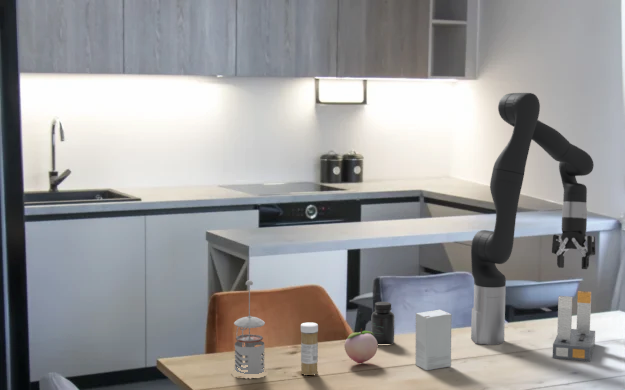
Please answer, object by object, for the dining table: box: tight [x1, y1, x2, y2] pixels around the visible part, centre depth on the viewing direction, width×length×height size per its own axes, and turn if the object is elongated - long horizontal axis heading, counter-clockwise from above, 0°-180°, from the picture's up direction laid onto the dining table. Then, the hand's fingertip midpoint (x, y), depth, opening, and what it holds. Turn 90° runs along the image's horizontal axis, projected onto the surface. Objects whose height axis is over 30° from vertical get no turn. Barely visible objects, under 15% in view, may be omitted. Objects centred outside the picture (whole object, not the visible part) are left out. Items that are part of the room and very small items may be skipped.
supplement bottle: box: [370, 301, 396, 345], centre depth 274 cm, size 7×7×12 cm
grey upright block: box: [556, 295, 573, 340], centre depth 262 cm, size 2×4×12 cm, turn 69°
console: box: [552, 328, 596, 363], centre depth 267 cm, size 20×10×4 cm, turn 159°
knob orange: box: [576, 290, 592, 334], centre depth 269 cm, size 2×4×12 cm, turn 69°
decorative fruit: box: [344, 328, 379, 364], centre depth 252 cm, size 9×8×10 cm
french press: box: [233, 279, 266, 374], centre depth 243 cm, size 10×12×25 cm
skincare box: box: [415, 309, 453, 371], centre depth 250 cm, size 8×6×15 cm
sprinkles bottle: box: [300, 321, 319, 376], centre depth 243 cm, size 5×5×13 cm
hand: (572, 268), depth 290 cm, fingers open, 8 cm apart
